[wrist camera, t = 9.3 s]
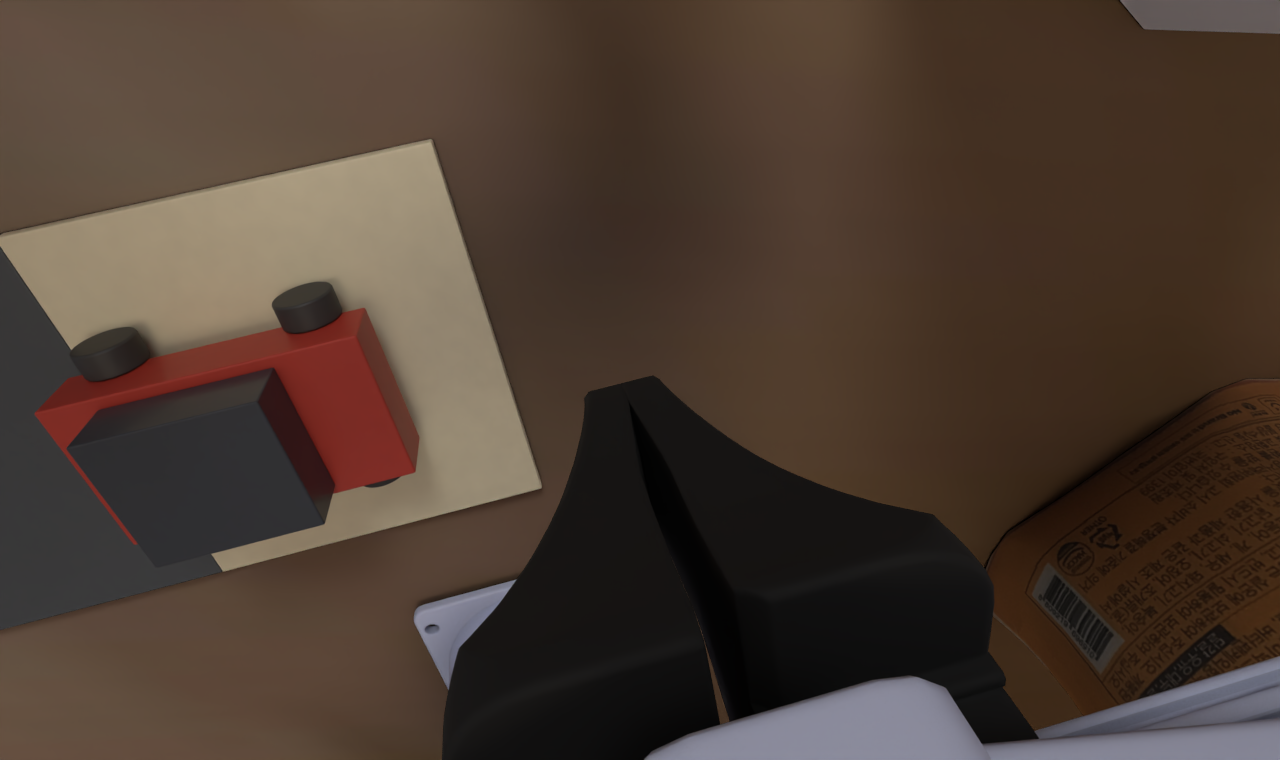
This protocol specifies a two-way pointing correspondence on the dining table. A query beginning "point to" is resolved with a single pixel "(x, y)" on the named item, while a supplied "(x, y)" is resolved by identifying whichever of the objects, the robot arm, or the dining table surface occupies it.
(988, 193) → the dining table surface
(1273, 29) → the milk
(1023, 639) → the pancake mix bag
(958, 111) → the dining table surface
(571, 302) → the dining table surface
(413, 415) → the road board
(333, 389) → the toy car
